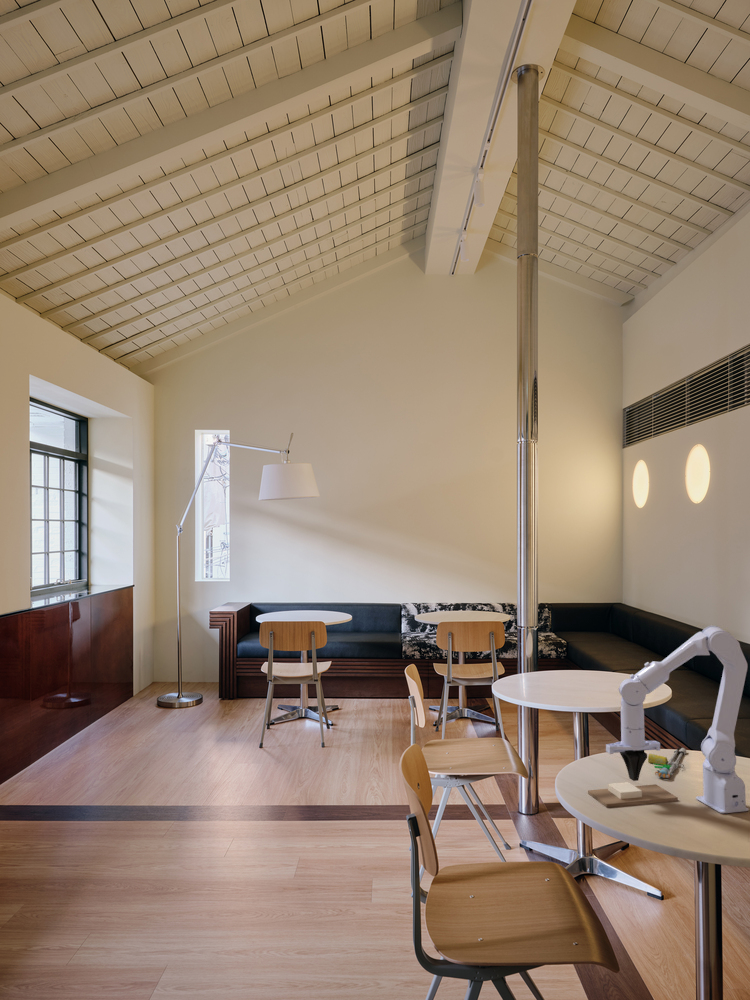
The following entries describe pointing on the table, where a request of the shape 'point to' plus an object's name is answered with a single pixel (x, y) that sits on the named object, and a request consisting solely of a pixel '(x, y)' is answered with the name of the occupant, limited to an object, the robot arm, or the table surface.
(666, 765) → the flamethrower
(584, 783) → the table surface
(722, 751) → the robot arm
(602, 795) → the board
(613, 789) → the tile
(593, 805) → the table surface
